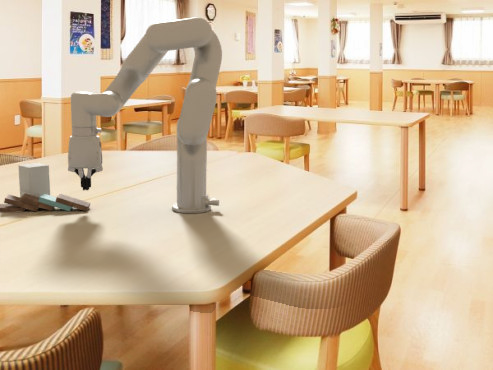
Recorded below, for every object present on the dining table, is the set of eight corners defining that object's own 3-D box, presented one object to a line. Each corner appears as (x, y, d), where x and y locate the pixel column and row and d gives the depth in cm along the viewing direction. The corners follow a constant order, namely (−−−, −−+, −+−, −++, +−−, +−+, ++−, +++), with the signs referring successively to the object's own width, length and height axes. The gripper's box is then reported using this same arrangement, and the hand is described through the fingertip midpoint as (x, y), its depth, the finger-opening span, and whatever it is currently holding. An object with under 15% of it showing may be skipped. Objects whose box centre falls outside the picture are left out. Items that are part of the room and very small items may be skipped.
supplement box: (51, 202, 201) (49, 165, 199) (30, 205, 196) (28, 167, 193) (40, 198, 206) (38, 162, 204) (19, 201, 201) (17, 164, 198)
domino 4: (74, 203, 195) (43, 193, 193) (70, 206, 190) (39, 196, 188) (72, 207, 195) (42, 197, 193) (69, 211, 190) (38, 201, 189)
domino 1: (27, 203, 193) (-6, 204, 192) (23, 207, 188) (-10, 207, 187) (27, 208, 194) (-6, 208, 192) (23, 212, 189) (-10, 212, 187)
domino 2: (40, 203, 193) (8, 194, 191) (37, 206, 189) (5, 197, 186) (39, 207, 194) (7, 199, 191) (36, 211, 189) (3, 202, 187)
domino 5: (90, 203, 195) (60, 193, 194) (87, 206, 190) (56, 197, 189) (89, 207, 195) (58, 198, 194) (86, 211, 191) (55, 201, 189)
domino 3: (56, 202, 194) (25, 193, 192) (53, 206, 189) (21, 196, 187) (54, 207, 194) (23, 197, 193) (51, 210, 190) (19, 201, 188)
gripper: (110, 130, 192) (111, 187, 196) (62, 130, 191) (64, 187, 194) (107, 133, 185) (108, 192, 189) (57, 133, 183) (59, 192, 187)
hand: (86, 189), depth 191 cm, fingers closed
